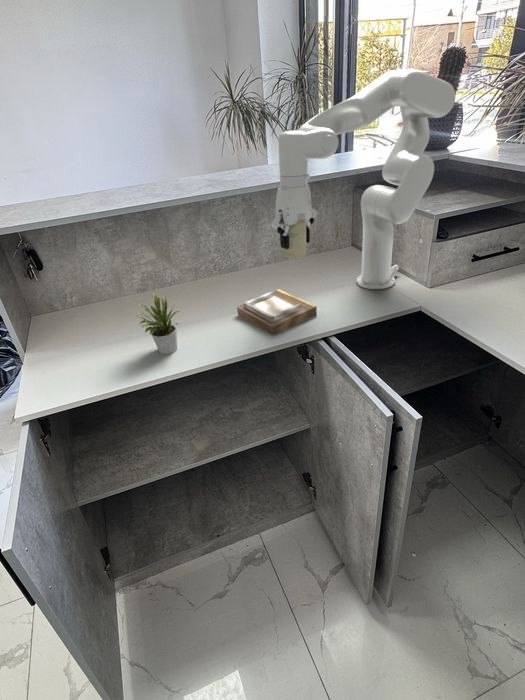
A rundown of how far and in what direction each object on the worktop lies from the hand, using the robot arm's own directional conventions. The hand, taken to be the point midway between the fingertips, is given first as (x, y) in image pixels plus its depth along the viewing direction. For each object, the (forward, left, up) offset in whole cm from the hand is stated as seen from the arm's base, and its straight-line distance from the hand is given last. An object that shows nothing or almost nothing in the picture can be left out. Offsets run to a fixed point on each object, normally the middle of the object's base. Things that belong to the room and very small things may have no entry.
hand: (295, 244), depth 128 cm
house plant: (+43, -8, -21) cm, 49 cm away
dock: (+9, 0, -20) cm, 22 cm away
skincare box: (0, 0, -3) cm, 3 cm away
